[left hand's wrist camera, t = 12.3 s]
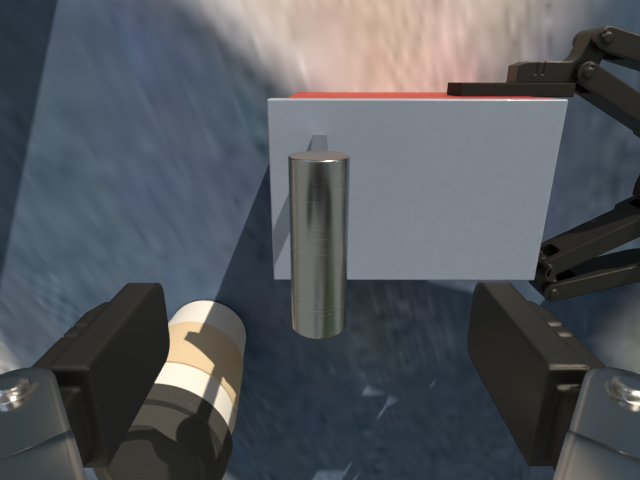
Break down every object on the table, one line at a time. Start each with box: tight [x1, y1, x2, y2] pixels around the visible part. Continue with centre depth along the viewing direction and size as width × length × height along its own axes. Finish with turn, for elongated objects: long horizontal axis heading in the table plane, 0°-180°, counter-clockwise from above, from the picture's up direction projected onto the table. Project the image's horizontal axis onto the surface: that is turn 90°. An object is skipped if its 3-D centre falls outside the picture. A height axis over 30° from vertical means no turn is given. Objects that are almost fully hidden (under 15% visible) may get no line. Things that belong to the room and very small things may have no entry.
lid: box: [267, 98, 568, 339], centre depth 19 cm, size 15×10×10 cm, turn 90°
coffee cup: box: [93, 301, 246, 480], centre depth 32 cm, size 9×9×15 cm
